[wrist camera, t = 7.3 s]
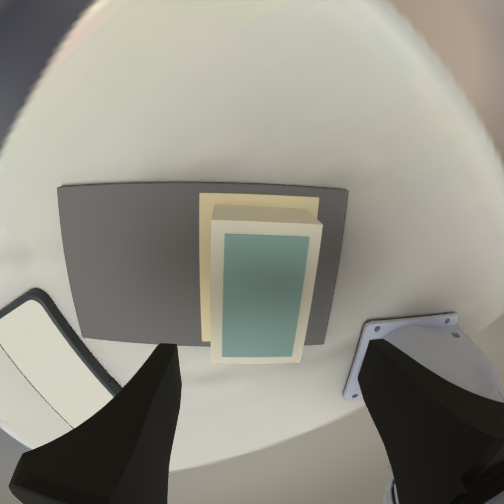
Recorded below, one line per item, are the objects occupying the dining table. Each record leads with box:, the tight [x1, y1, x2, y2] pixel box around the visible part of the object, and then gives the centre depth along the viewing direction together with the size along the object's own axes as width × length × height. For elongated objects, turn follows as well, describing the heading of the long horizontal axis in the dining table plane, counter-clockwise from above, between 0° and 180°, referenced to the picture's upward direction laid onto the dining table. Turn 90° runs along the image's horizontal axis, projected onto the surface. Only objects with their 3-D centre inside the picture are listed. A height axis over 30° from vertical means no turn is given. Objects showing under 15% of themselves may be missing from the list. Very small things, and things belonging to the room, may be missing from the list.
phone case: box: [0, 288, 122, 429], centre depth 21 cm, size 9×2×16 cm
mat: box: [57, 182, 349, 347], centre depth 18 cm, size 17×10×1 cm, turn 87°
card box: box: [210, 205, 323, 364], centre depth 16 cm, size 8×5×3 cm, turn 176°
